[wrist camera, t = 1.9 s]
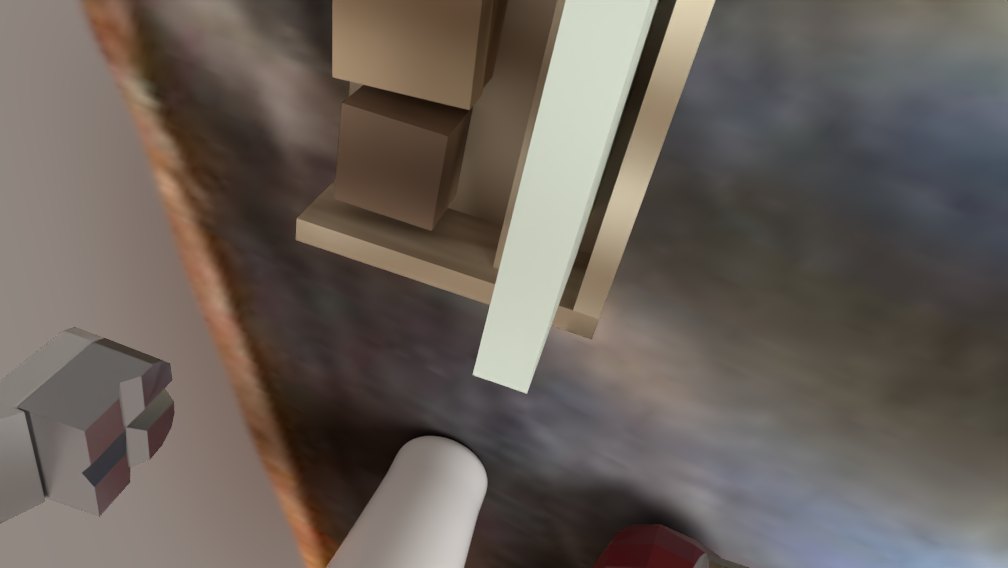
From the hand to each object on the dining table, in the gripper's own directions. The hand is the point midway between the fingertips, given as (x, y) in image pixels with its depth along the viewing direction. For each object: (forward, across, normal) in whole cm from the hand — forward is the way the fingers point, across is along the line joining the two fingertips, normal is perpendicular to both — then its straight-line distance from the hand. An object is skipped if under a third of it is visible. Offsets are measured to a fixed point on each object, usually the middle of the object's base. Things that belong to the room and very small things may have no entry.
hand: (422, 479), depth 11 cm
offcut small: (+20, +7, +5) cm, 21 cm away
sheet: (+20, 0, 0) cm, 20 cm away
